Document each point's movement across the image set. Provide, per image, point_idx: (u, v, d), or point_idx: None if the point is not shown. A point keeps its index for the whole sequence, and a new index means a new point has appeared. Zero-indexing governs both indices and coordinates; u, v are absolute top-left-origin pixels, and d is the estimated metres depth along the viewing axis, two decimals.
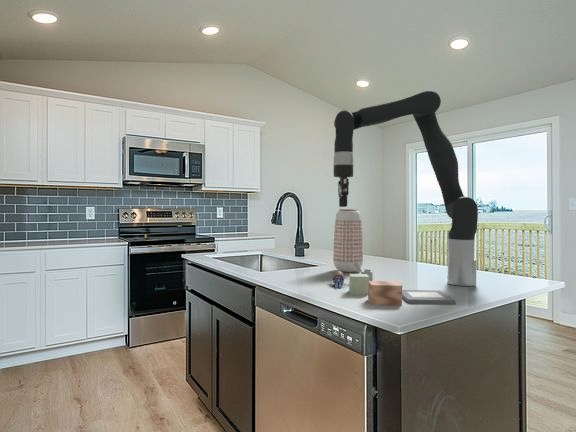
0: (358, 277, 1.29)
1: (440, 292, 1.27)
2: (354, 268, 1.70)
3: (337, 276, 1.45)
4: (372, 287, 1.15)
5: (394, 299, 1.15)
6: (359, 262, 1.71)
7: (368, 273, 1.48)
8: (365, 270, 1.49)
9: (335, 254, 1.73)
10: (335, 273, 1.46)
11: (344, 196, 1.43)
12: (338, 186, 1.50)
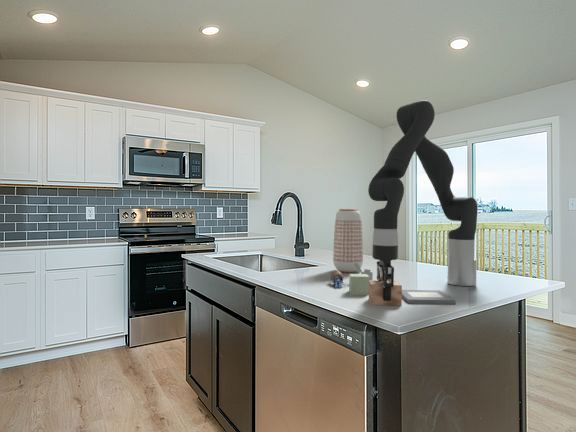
0: (358, 277, 1.29)
1: (440, 292, 1.27)
2: (354, 268, 1.70)
3: (336, 276, 1.46)
4: (371, 286, 1.16)
5: (394, 299, 1.15)
6: (359, 262, 1.71)
7: (368, 273, 1.48)
8: (365, 270, 1.49)
9: (335, 254, 1.73)
10: (334, 273, 1.46)
11: (387, 288, 1.14)
12: (378, 270, 1.20)
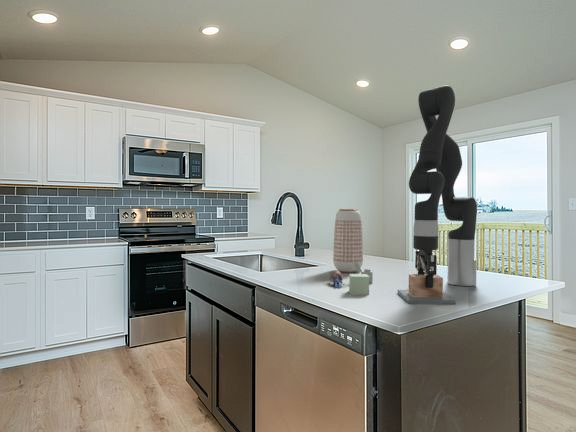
0: (358, 277, 1.29)
1: None
2: (354, 268, 1.70)
3: (335, 276, 1.46)
4: (413, 279, 1.21)
5: (435, 291, 1.20)
6: (359, 262, 1.71)
7: (368, 273, 1.48)
8: (365, 270, 1.49)
9: (335, 254, 1.73)
10: (333, 273, 1.46)
11: (430, 276, 1.18)
12: (418, 259, 1.25)
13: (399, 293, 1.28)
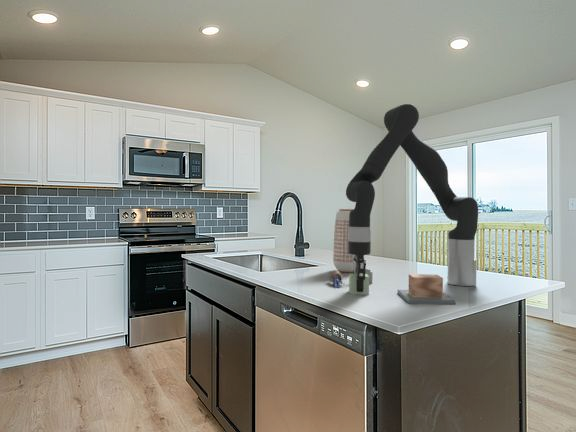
0: None
1: None
2: None
3: (335, 276, 1.46)
4: (413, 279, 1.21)
5: (435, 291, 1.20)
6: None
7: (368, 273, 1.48)
8: (365, 270, 1.49)
9: (335, 254, 1.73)
10: (333, 273, 1.47)
11: (360, 281, 1.28)
12: (353, 263, 1.33)
13: (399, 293, 1.28)
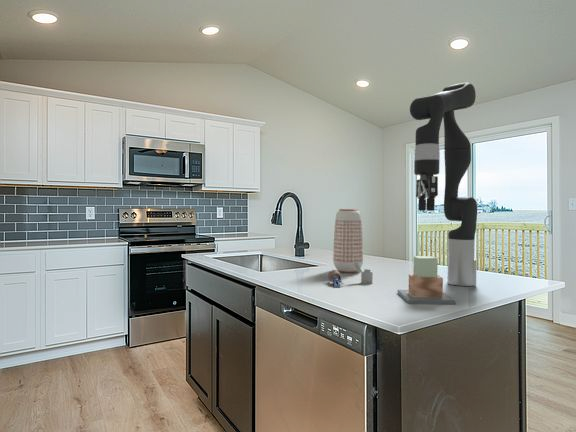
0: (426, 259, 1.21)
1: None
2: (354, 268, 1.70)
3: (334, 275, 1.47)
4: (413, 279, 1.21)
5: (435, 291, 1.20)
6: (359, 262, 1.71)
7: (368, 273, 1.48)
8: (365, 270, 1.49)
9: (335, 254, 1.73)
10: (332, 272, 1.47)
11: (431, 198, 1.18)
12: (419, 186, 1.24)
13: (399, 293, 1.28)
